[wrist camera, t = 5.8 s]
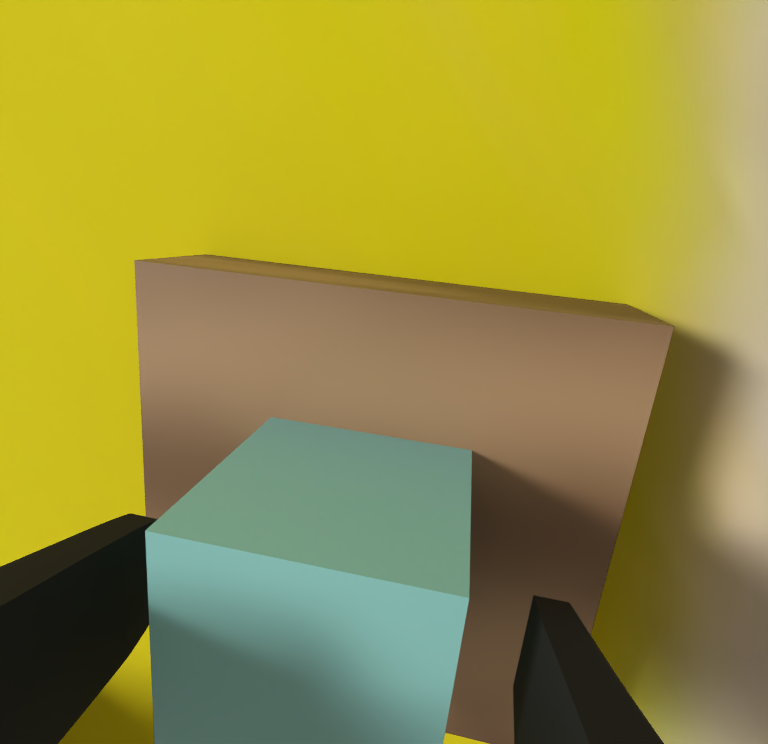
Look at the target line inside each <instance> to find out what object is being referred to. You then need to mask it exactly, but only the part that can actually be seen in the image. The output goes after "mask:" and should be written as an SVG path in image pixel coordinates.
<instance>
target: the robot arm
mask: <svg viewBox="0 0 768 744" xmlns="http://www.w3.org/2000/svg"><path fill="white" fill-rule="evenodd" d="M156 520H158V519H155V518H150V517H145V516H140V515H135V514H127V515H124V516H121V517H118V518H116V519H113V520H110V521H108V522H105V523H103V524H100V525H98V526H95V527H93V528H91V529H88V530H86V531H83V532H81V533H79V534H76V535H74V536H72V537H69V538H67V539H65V540H62V541H60V542H58V543H55V544H53V545H51V546H48V547H46V548H44V549H41V550H39V551H36V552H34V553H32V554H29V555H27V556H25V557H22V558H20V559H18V560H15V561H13V562H11V563H8V564H6V565H3V566H1V567H0V744H58V743H59V742H60V741H61V739H62V738H63V737H64V736H65V734H66V733H67V732H68V731H69V729H70V728H71V727H72V726H73V725H74V723H75V722H76V721H77V720H78V718H79V717H80V716H81V715H82V714H83V712H84V711H85V710H86V709H87V707H88V706H89V705H90V704H91V703H92V701H93V700H94V699H95V698H96V696H97V695H98V694H99V693H100V691H101V690H102V689H103V688H104V686H105V685H106V684H107V683H108V681H109V680H110V679H111V678H112V676H113V675H114V674H115V673H116V671H117V670H118V669H119V668H120V666H121V665H122V664H123V663H124V661H125V660H126V659H127V657H128V656H129V655H130V653H131V652H132V650H133V649H134V647H135V646H136V644H137V643H138V641H139V640H140V638H141V637H142V635H143V634H144V632H145V630H146V629H147V627H148V625H149V607H148V584H147V562H146V539H145V530H146V529H148V528H149V527H150V526H151V525H152V524H153V523H154V522H155V521H156ZM513 710H514V744H664V743H663V742H662V740H661V739H660V737H659V736H658V735H657V733H656V732H655V730H654V729H653V728H652V726H651V725H650V723H649V722H648V720H647V719H646V718H645V716H644V715H643V713H642V712H641V710H640V709H639V707H638V706H637V705H636V703H635V702H634V700H633V699H632V697H631V696H630V695H629V693H628V692H627V690H626V689H625V687H624V686H623V684H622V683H621V681H620V680H619V678H618V677H617V675H616V674H615V672H614V671H613V669H612V668H611V666H610V665H609V663H608V661H607V660H606V658H605V657H604V655H603V654H602V652H601V651H600V649H599V648H598V646H597V644H596V643H595V641H594V640H593V638H592V637H591V635H590V633H589V632H588V630H587V629H586V627H585V625H584V624H583V622H582V621H581V619H580V618H579V616H578V614H577V613H576V611H575V610H574V608H573V607H572V606H571V604H570V603H569V602H565V601H560V600H555V599H550V598H545V597H540V596H535V595H533V599H532V603H531V608H530V612H529V617H528V621H527V626H526V630H525V635H524V639H523V644H522V648H521V653H520V657H519V662H518V666H517V670H516V675H515V679H514V684H513Z"/></svg>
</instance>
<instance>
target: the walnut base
mask: <svg viewBox="0 0 768 744" xmlns="http://www.w3.org/2000/svg"><path fill="white" fill-rule="evenodd" d="M135 281H136V304H137V326H138V349H139V371H140V394H141V416H142V439H143V461H144V484H145V506H146V517H150V518H155V519H159V518H160V517H161V516H162V515H163V514H164V513H165V512H166V511H168V510H169V509H170V508H171V507H172V506H173V505H174V504H175V503H176V502H178V501H179V500H180V499H181V498H182V497H183V496H184V495H185V494H186V493H188V492H189V491H190V490H191V489H192V488H193V487H194V486H195V485H196V484H198V483H199V482H200V481H201V480H202V479H203V478H204V477H205V476H206V475H207V474H209V473H210V472H211V471H212V470H213V469H214V468H215V467H216V466H217V465H219V464H220V463H221V462H222V461H223V460H224V459H225V458H226V457H227V456H229V455H230V454H231V453H232V452H233V451H234V450H235V449H236V448H237V447H239V446H240V445H241V444H242V443H243V442H244V441H245V440H246V439H247V438H249V437H250V436H251V435H252V434H253V433H254V432H255V431H256V430H257V429H259V428H260V427H261V426H262V425H263V424H264V423H265V422H266V421H267V420H268V419H270V418H271V417H274V418H280V419H286V420H292V421H298V422H305V423H311V424H317V425H323V426H329V427H335V428H341V429H347V430H353V431H359V432H365V433H371V434H377V435H383V436H389V437H395V438H401V439H407V440H413V441H419V442H425V443H431V444H437V445H443V446H449V447H455V448H461V449H467V450H472V475H471V532H470V588H469V603H468V608H467V614H466V619H465V625H464V630H463V636H462V641H461V647H460V652H459V658H458V663H457V669H456V675H455V680H454V686H453V691H452V697H451V702H450V708H449V713H448V719H447V724H446V730H445V733H449V734H453V735H458V736H462V737H466V738H470V739H474V740H478V741H482V742H486V743H490V744H514V710H513V684H514V679H515V675H516V670H517V666H518V662H519V657H520V653H521V648H522V644H523V639H524V635H525V630H526V626H527V621H528V617H529V612H530V608H531V603H532V599H533V595H535V596H540V597H545V598H550V599H555V600H560V601H565V602H569V603H570V604H571V606H572V607H573V608H574V610H575V611H576V613H577V614H578V616H579V618H580V619H581V621H582V622H583V624H584V625H585V627H586V629H587V630H588V632H589V633H590V635H591V631H592V628H593V624H594V620H595V617H596V613H597V609H598V606H599V602H600V598H601V594H602V591H603V587H604V583H605V580H606V576H607V572H608V569H609V565H610V561H611V558H612V554H613V550H614V547H615V543H616V539H617V536H618V532H619V528H620V524H621V521H622V517H623V513H624V510H625V506H626V502H627V499H628V495H629V491H630V488H631V484H632V480H633V477H634V473H635V469H636V465H637V462H638V458H639V454H640V451H641V447H642V443H643V440H644V436H645V432H646V429H647V425H648V421H649V418H650V414H651V410H652V406H653V403H654V399H655V395H656V392H657V388H658V384H659V381H660V377H661V373H662V370H663V366H664V362H665V359H666V355H667V351H668V348H669V344H670V340H671V336H672V333H673V329H674V326H672V325H669V324H667V323H665V322H663V321H661V320H659V319H657V318H655V317H653V316H651V315H648V314H646V313H644V312H642V311H640V310H638V309H636V308H634V307H632V306H629V305H627V304H619V303H611V302H602V301H594V300H585V299H577V298H568V297H560V296H552V295H543V294H535V293H526V292H518V291H509V290H501V289H492V288H484V287H476V286H467V285H459V284H450V283H442V282H433V281H425V280H417V279H408V278H400V277H391V276H383V275H374V274H366V273H358V272H349V271H341V270H332V269H324V268H315V267H307V266H299V265H290V264H282V263H273V262H265V261H256V260H248V259H239V258H231V257H223V256H214V255H194V256H182V257H169V258H157V259H145V260H135Z"/></svg>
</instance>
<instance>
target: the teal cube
mask: <svg viewBox="0 0 768 744" xmlns="http://www.w3.org/2000/svg"><path fill="white" fill-rule="evenodd" d="M471 475H472V450H467V449H461V448H455V447H449V446H443V445H437V444H431V443H425V442H419V441H413V440H407V439H401V438H395V437H389V436H383V435H377V434H371V433H365V432H359V431H353V430H347V429H341V428H335V427H329V426H323V425H317V424H311V423H305V422H298V421H292V420H286V419H280V418H274V417H271V418H270V419H268V420H267V421H266V422H265V423H264V424H263V425H262V426H261V427H260V428H259V429H257V430H256V431H255V432H254V433H253V434H252V435H251V436H250V437H249V438H247V439H246V440H245V441H244V442H243V443H242V444H241V445H240V446H239V447H237V448H236V449H235V450H234V451H233V452H232V453H231V454H230V455H229V456H227V457H226V458H225V459H224V460H223V461H222V462H221V463H220V464H219V465H217V466H216V467H215V468H214V469H213V470H212V471H211V472H210V473H209V474H207V475H206V476H205V477H204V478H203V479H202V480H201V481H200V482H199V483H198V484H196V485H195V486H194V487H193V488H192V489H191V490H190V491H189V492H188V493H186V494H185V495H184V496H183V497H182V498H181V499H180V500H179V501H178V502H176V503H175V504H174V505H173V506H172V507H171V508H170V509H169V510H168V511H166V512H165V513H164V514H163V515H162V516H161V517H160V518H159V519H158V520H156V521H155V522H154V523H153V524H152V525H151V526H150V527H149V528H148V529H146V530H145V539H146V562H147V584H148V607H149V630H150V652H151V675H152V697H153V720H154V743H155V744H443V741H444V735H445V730H446V724H447V719H448V713H449V708H450V702H451V697H452V691H453V686H454V680H455V675H456V669H457V663H458V658H459V652H460V647H461V641H462V636H463V630H464V625H465V619H466V614H467V608H468V603H469V588H470V532H471Z"/></svg>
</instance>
